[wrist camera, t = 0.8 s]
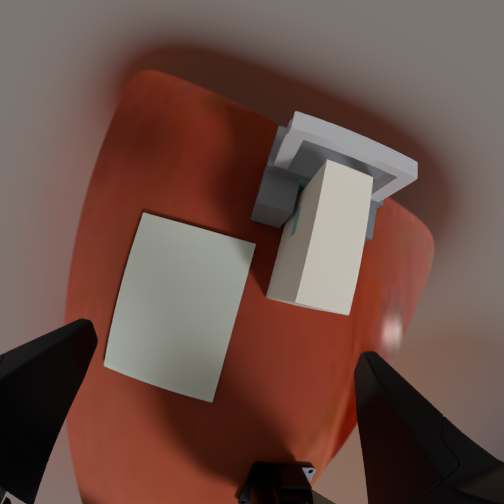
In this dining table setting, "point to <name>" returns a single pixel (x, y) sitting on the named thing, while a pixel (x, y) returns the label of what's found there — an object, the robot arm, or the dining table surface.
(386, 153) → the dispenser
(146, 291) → the mat
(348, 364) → the dining table surface
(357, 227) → the white rectangular block
